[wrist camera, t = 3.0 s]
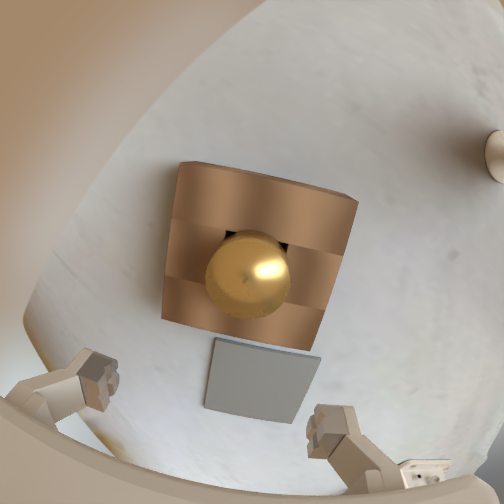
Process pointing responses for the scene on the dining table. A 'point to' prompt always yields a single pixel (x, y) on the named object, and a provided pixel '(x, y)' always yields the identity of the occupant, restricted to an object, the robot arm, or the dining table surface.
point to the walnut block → (263, 220)
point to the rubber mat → (258, 381)
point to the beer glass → (495, 155)
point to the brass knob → (248, 275)
